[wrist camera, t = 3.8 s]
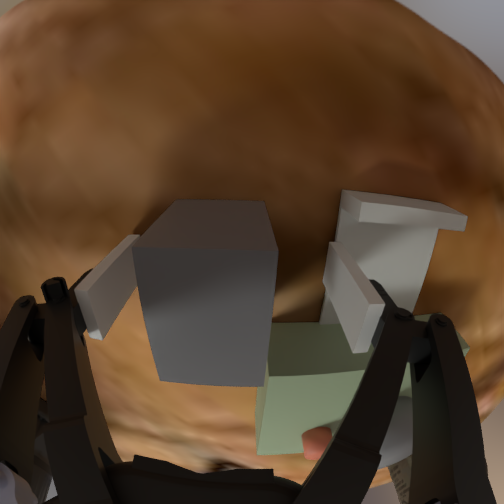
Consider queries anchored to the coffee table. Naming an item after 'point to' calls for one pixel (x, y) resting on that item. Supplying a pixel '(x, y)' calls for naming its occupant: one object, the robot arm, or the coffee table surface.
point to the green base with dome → (334, 339)
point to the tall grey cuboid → (208, 291)
